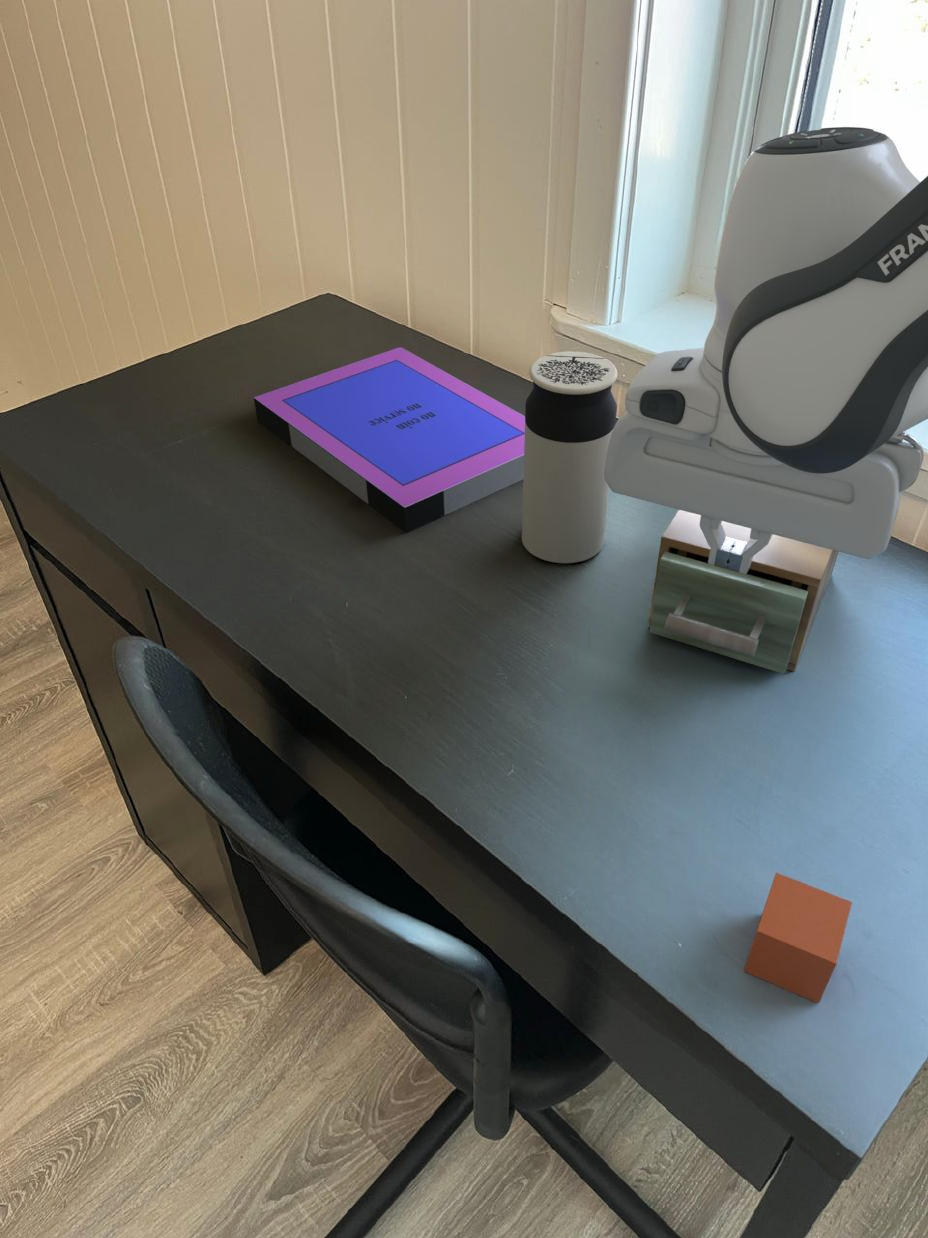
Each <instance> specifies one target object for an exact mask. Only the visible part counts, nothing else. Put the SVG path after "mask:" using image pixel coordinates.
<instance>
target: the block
mask: <svg viewBox="0 0 928 1238" xmlns="http://www.w3.org/2000/svg"><path fill="white" fill-rule="evenodd" d="M852 904H853V902H852V901H850V900H848V899H845V898H842V897H840V896H837V895H835V894H832V893H830V892H828V891H825V890H822V889H820V888H817V887H814V886H812V885H809V884H806V883H804V882H801V881H799V880H797V879H794V878H792V877H789V876H786V875H783V874H781V873H779V872H776V873H775V874H774V877H773V881H772V884H771V887H770V890H769V893H768V896H767V899H766V901H765V904H764V908H763V910H762V913H761V917H760V919H759V922H758V926H757V929H756V931H755V934H754V938H753V941H752V944H751V947H750V949H749V953H748V956H747V959H746V962H745V965H744V968H743V972H744V973H747V974H750V975H752V976H754V977H757V978H758V979H761V980H763V981H766V982H768V983H770V984H772V985H775V986H777V987H779V988H782V989H784V990H785V991H789V992H791V993H793V994H796V995H798V996H800V997H802V998H805V999H807V1000H809V1001H811V1002H813V1003H816V1004H819V1003H820V1002H821V999H822V997H823V995H824V993H825V990H826V988H827V986H828V984H829V982H830V980H831V978H832V975H833V973H834V971H835V968H836V966H837V965H838V960H839V956H840V952H841V948H842V944H843V941H844V937H845V932H846V928H847V924H848V920H849V917H850V913H851V909H852Z"/></svg>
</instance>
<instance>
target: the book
mask: <svg viewBox="0 0 928 1238" xmlns="http://www.w3.org/2000/svg"><path fill="white" fill-rule="evenodd" d="M252 399H253V403H254V408H255V414H256V420H257V422H259V423H260V424H262V426H264V427H265V428H267V430H269V431H271V432H272V433H273V434H274V435H276V436H277V437H279V438H280V439H281V440H282V441H284V442H285V443H286V444H288V445H289V446H290V447H292V448H293V449H295V450H296V451H297V452H299V454H301V455H303V456H304V457H305V458H306V459H307V460H309V461H311V462H312V464H315V465H316V466H317V467H318V468H320V469H321V470H322V471H324V472H325V473H326V474H327V475H329V477H331V478H333V480H335V481H337V482H338V483H339V484H341V485H342V486H343V487H345V488H346V489H347V490H348V491H350V492H351V493H353V494H354V495H355V496H357V497H358V498H359V499H360V500H362V501H363V502H364V503H366V504H367V505H368V506H370V507H371V508H373V509H374V510H375V511H377V512H378V513H379V514H380V515H382V516H383V517H385V518H386V519H387V520H388V521H390V522H391V523H393V524H394V525H395V526H397V528H399V529H400V530H402V531H403V532H405V533H406V534H408V533H410V532H412V531H414V530H416V529H419V528H420V527H424V526H425V525H428V524H429V523H431V522H435V521H436V520H439V519H440V518H442V517H445V516H447V515H449V514H451V513H453V512H456V511H459V510H460V509H463V508H464V507H467V506H468V505H470V504H473V503H475V502H477V501H480V500H481V499H484V498H486V497H488V496H490V495H493V494H495V493H497V492H499V491H501V490H504V489H506V488H508V487H510V486H512V485H515V484H517V483H519V482H521V481H523V477H524V441H525V414H524V415H523V414H522V413H520V412H518V411H516V410H515V409H513V408H511V407H509V406H507V405H506V404H504V403H502V402H500V401H499V400H497V399H495V398H493V397H491V396H489V395H487V394H486V393H484V392H482V391H481V390H479V389H477V388H475V387H474V386H471V385H469V384H468V383H466V382H464V381H463V380H460V379H459V378H457V377H456V376H454V375H452V374H450V373H449V372H446V371H444V370H443V369H441V368H439V367H437V366H435V365H434V364H432V363H430V362H428V361H427V360H425V359H423V358H421V357H419V356H418V355H416V354H414V353H412V352H411V351H408V350H407V349H405V348H403V347H401V346H399V347H396V348H393V349H390V350H387V351H384V352H382V353H378V354H376V355H372V356H369V357H367V358H364V359H361V360H358V361H355V362H352V363H349V364H347V365H343V366H340V367H337V368H334V369H331V370H328V371H326V372H322V373H320V374H317V375H315V376H311V377H309V378H305V379H303V380H300V381H297V382H294V383H291V384H288V385H285V386H283V387H282V386H281V387H280V388H277V389H274V390H271V391H268V392H265V393H262V394H259V395H256V396H253V398H252Z"/></svg>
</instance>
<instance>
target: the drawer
mask: <svg viewBox="0 0 928 1238" xmlns="http://www.w3.org/2000/svg"><path fill="white" fill-rule="evenodd" d="M708 559H709V558H708V557H705V556H701V555H697V554H694V553H690V552H687V551H683V550H679V549H678V552H677V555H676V554H673V553H669V552H664V554H663V555H662V557H661V559H660V564H659V571H658V578H657V585H656V591H655V598H654V605H653V612H652V619H651V626H650V627H649V633H651V634H655V635H657V636H660V637H663V638H668V639H671V640H673V641H677V642H679V643H683V644H686V645H688V646H692V647H695V648H700V649H702V650H705V651H708V652H712V653H715V654H719V655H721V656H725V657H728V658H731V659H734V660H737V661H741V662H744V663H747V664H750V665H754V666H757V667H759V668H764V669H767V670H770V671H772V672H776V673H779V674H781V675H784V674H786V671H787V666H788V663H789V659H790V656H791V652H792V649H793V645H794V642H795V638H796V634H797V631H798V627H799V624H800V620H801V617H802V613H803V609H804V606H805V602H806V599H807V595H808V591H807V587H808V585H807V584H803V583H799V582H796V581H792V580H788V579H785V578H781V577H777V576H774V575H770V574H767V573H763V572H759V571H756V570H752V569H748V571H747V573H746V574H743V573H739V572H736V571H733V570H729V569H725V568H721V567H717V566H715V565H711V564H708Z"/></svg>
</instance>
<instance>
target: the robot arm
mask: <svg viewBox="0 0 928 1238" xmlns="http://www.w3.org/2000/svg"><path fill="white" fill-rule="evenodd" d="M726 213H727V214H726V218H725V222H724V227H723V231H722V235H721V241H720V246H719V250H718V251H719V252H718V258H717V264H716V269H715V276H714V296H715V304H716V305H715V307H716V309H715V316H714V319H713V323H712V326H711V328H710V330H709V332H708V333H707V336H706V338H705V341H704V345H703V347H694V348H688V349H687V348H685V349H676V350H675V349H674V350H667V351H663V352H660V353H658V354H657V355H656V356H654V357H653V358H652V359H650V360H649V362H647V363H646V364H645V365H644V366H643V367H642V368H641V369H640V371H639V372H638V373H637V374H636V375H635V377H634V378H633V380H632V382H631V383H630V385H629V386H628V389H627V390H626V393H625V400H624V406H625V411H624V412H623V413H622V414H621V416H620V417H619V418H618V419H617V421H616V423H615V426H614V428H613V431H612V434H611V437H610V441H609V445H608V450H607V454H606V460H605V467H604V479H605V481H606V483H607V484H608V486H609V490H611V491H612V492H613V493H614V494H618V495H621V496H626V497H630V498H633V499H638V500H641V501H646V502H649V503H653V504H657V505H659V506H660V505H661V506H664V507H666V508H667V507H668V508H670V509H671V508H672V509H675V510H683V511H686V512H690V513H694V514H698V515H701V519H700V524H699V526H700V528H701V530H702V532H703V534H704V536H705V538H706V541H707V543H708V545H709V546H710V547H711V549H710V554H709V559H708V564H711V565H715V566H717V567H721V568H725V569H729V570H733V571H736V572H739V573H743V574H746V573H747V571H748V569H749V567H750V565H751V562H752V559H753V556H754V555H755V554H757V553H758V552H759V551H760V550H761V549H763V548H764V547H765V546H766V545H768V543H769V541H770V539H771V537H772V535H773V534H774V535H778V536H781V537H785V538H789V539H793V540H797V541H800V542H804V543H808V544H812V545H816V546H819V547H823V548H827V549H831V550H835V551H838V553H842V554H847V555H850V556H854V557H858V558H862V559H866V560H870V559H873V558H875V557H877V556H878V555H880V554H882V553H883V552H886V551H887V549H888V546H889V543H890V541H891V538H892V534H893V531H894V527H895V525H896V519H897V516H898V512H899V509H900V505H901V504H900V503H901V499H902V494H903V493H902V492H904V491H905V490H908V489H909V488H910V487H911V486H912V485H914V483H915V482H916V481H917V479H918V476H919V474H920V472H921V467H922V465H923V462H924V449H923V446H922V444H921V443H920V442H919V441H918V440H917V438H915V437H914V436H912V435H910V434H909V433H906V432H907V431H908V430H910V429H911V428H913V427H915V426H917V425H919V424H921V423H923V422H924V421H926V420H928V175H927V176H926V177H924V179H922V180H921V181H920V180H919V179H918V178H917V177H916V176H915V175H914V174H913V173H912V172H911V170H910V169H909V168H908V167H907V166H906V164H905V162H904V160H903V158H902V157H901V154H900V152H899V150H898V148H897V146H896V143H895V142H894V141H893V139H891V137H890V136H888V135H887V134H886V133H882V132H879V131H877V130H874V129H873V128H867V127H859V126H857V127H856V126H839V127H838V126H837V127H822V128H820V129H812V130H802V131H797V132H793V133H789V134H785V135H782V136H780V137H776V138H773V139H771V140H768V141H766V142H764V143H762V144H760V146H759V147H758V148H756V149H755V150H753V151H752V152H751V153H750V155H749V156H748V158H747V160H745V163H744V165H743V166H742V169H741V171H740V173H739V175H738V178H737V180H736V183H735V186H734V189H733V192H732V196H731V199H730V203H729V206H728V209H727V212H726ZM722 521H724V522H728V523H732V524H736V525H740V526H743V527H747V528H751V533H750V538H751V539H750V540H749V541H748V542H743V541H739V540H735V539H732V538H728V537H726V535H725V532H724V529H723V526H722V524H721V522H722Z"/></svg>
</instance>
